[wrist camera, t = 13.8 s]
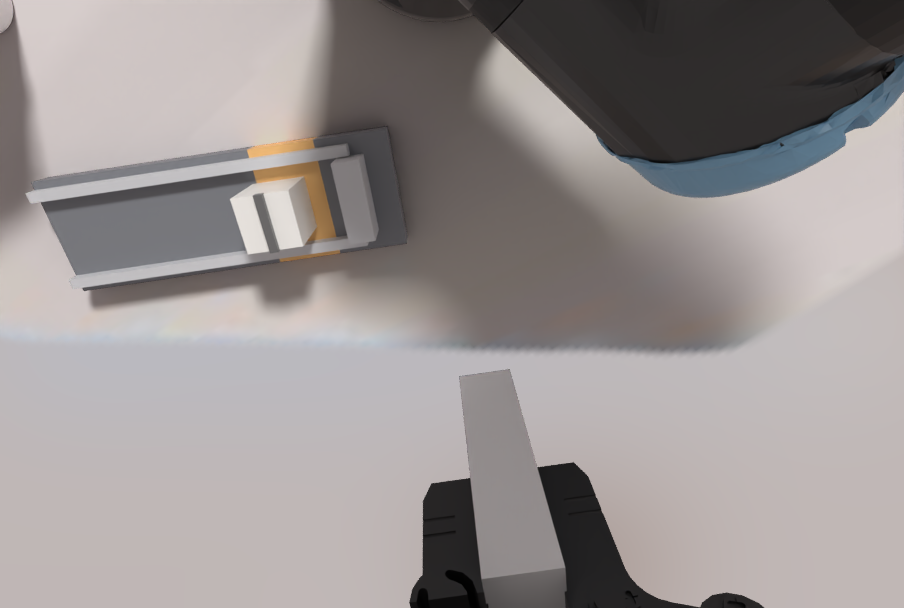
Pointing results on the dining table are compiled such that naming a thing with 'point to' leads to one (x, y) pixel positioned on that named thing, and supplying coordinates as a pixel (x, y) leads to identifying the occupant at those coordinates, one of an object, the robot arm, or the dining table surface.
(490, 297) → the dining table surface
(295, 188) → the fader tab
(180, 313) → the dining table surface
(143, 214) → the slider track
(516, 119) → the dining table surface
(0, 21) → the soft serve ice cream cone
